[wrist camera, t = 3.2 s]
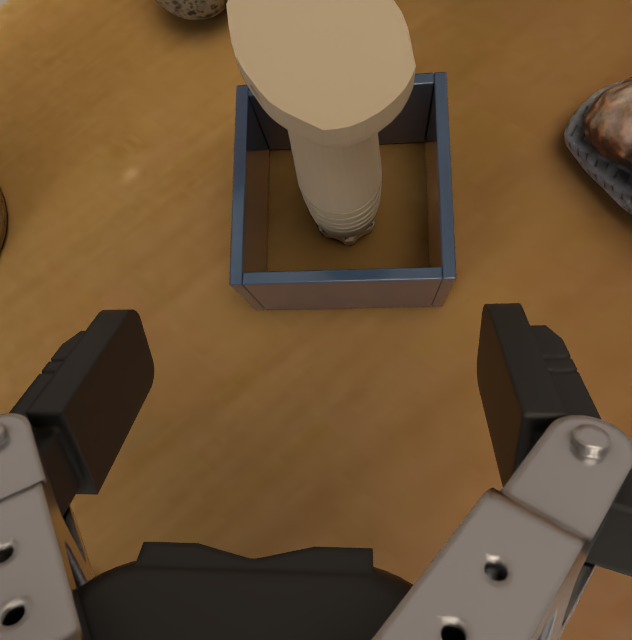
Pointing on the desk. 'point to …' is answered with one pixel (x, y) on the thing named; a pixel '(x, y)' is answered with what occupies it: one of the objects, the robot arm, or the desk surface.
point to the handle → (328, 94)
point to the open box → (353, 284)
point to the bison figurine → (605, 140)
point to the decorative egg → (194, 8)
